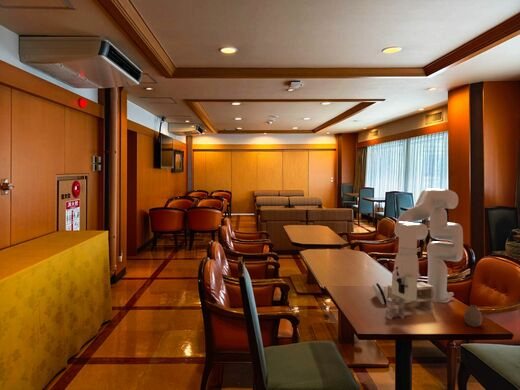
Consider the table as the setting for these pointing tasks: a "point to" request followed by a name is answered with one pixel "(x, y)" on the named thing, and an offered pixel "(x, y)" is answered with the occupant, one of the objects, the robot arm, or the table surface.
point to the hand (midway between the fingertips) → (405, 292)
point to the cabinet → (410, 302)
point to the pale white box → (406, 288)
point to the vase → (473, 316)
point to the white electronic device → (380, 292)
